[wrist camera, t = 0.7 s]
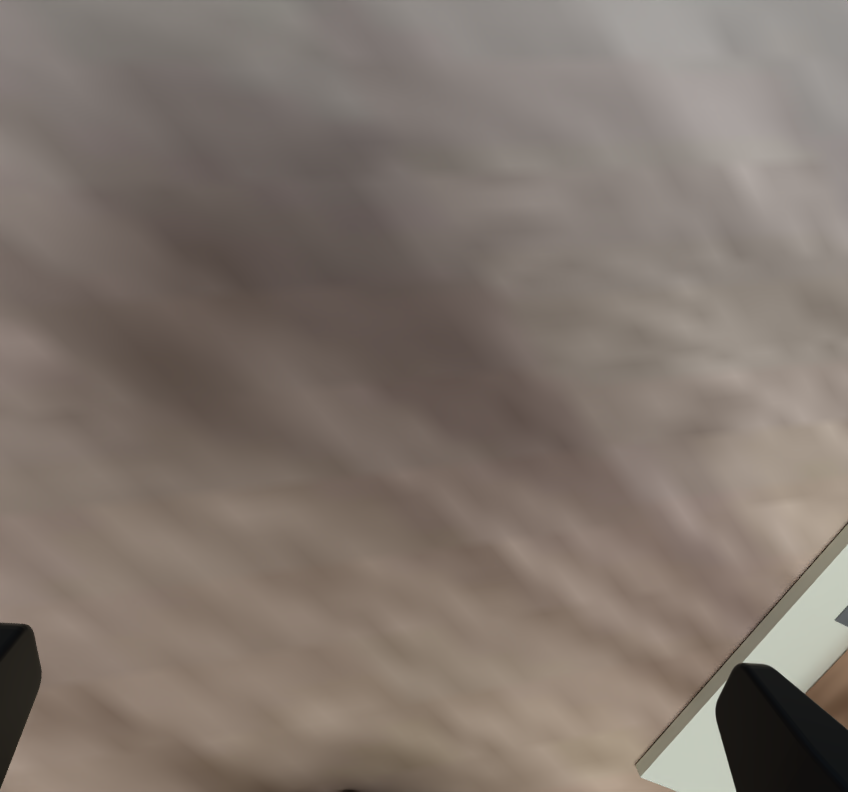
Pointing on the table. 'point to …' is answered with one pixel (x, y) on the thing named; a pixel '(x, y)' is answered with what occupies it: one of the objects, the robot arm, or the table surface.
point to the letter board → (768, 644)
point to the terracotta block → (833, 691)
